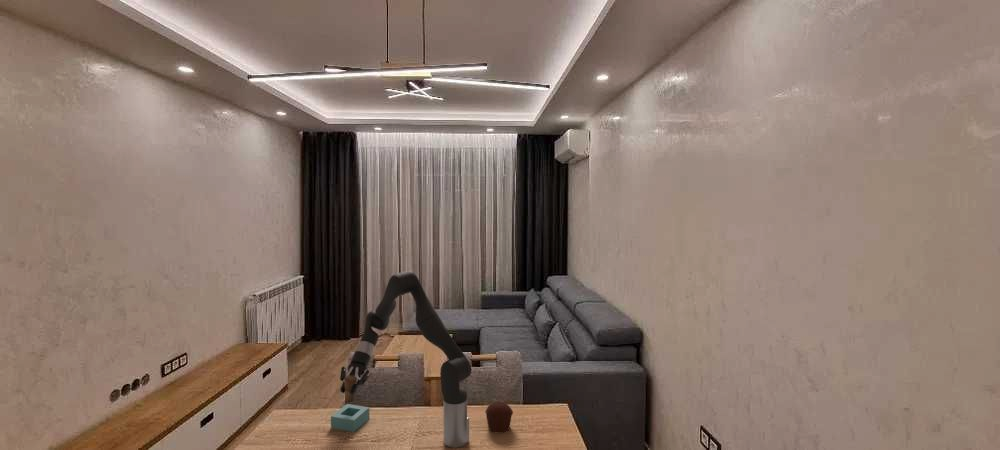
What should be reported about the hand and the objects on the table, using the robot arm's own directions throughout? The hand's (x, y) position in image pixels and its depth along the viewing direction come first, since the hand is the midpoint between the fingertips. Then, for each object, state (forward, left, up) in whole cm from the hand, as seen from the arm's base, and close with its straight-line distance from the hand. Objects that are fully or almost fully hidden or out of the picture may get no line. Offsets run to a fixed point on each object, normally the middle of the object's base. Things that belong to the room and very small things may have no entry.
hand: (346, 392), depth 183 cm
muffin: (-55, +31, -14) cm, 65 cm away
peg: (-1, -1, -4) cm, 5 cm away
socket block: (-1, -1, -14) cm, 14 cm away
